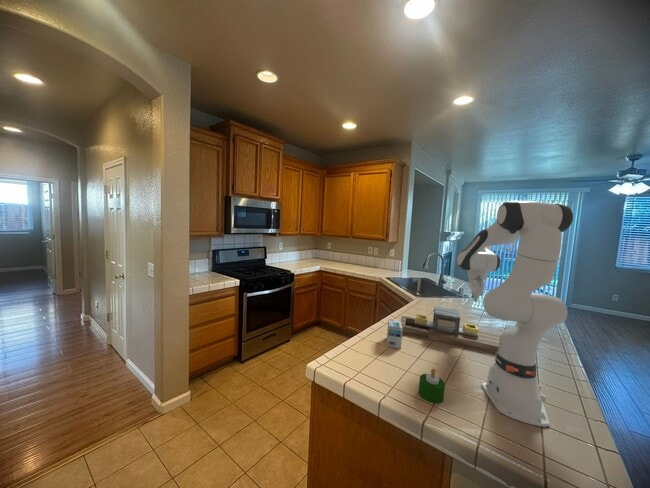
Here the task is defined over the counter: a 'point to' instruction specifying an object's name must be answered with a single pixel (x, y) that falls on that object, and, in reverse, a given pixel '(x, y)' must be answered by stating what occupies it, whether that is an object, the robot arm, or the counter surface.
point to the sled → (467, 328)
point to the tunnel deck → (483, 342)
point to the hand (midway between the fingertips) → (474, 299)
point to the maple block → (446, 322)
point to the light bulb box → (394, 333)
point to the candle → (431, 387)
